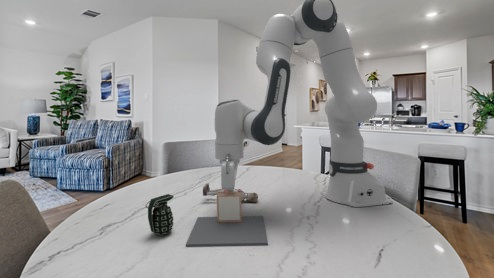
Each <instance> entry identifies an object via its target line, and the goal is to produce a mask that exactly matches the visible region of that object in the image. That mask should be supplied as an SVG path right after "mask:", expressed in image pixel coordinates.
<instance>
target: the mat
mask: <svg viewBox="0 0 494 278" xmlns="http://www.w3.org/2000/svg"><path fill="white" fill-rule="evenodd" d="M266 230H267V229H266V226H265V220H264V215H244V216H243V215H242V222H217V216H197V218H196V220H195V223H194V225H193V227H192V229H191V232H190V234H189V236H188V239H187V240H186V243H185V247H187V248H189V247H195V248H196V247H226V246H227V247H230V246H231V247H233V246H234V247H235V246H237V247H242V246H243V247H244V246H268V245H269V242H268V236H267V231H266Z"/></svg>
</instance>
